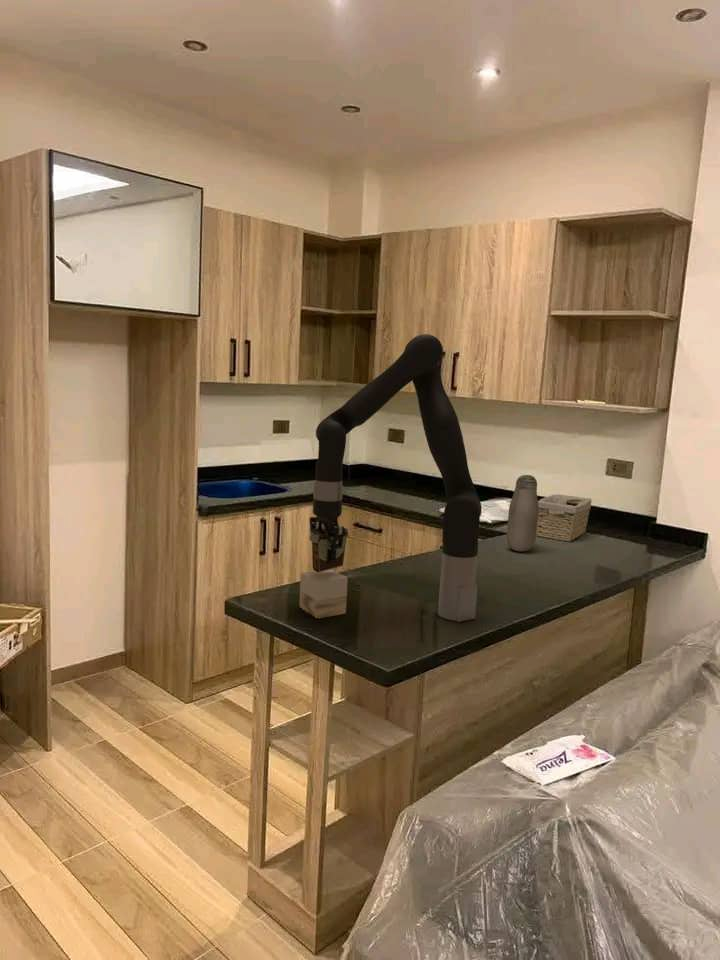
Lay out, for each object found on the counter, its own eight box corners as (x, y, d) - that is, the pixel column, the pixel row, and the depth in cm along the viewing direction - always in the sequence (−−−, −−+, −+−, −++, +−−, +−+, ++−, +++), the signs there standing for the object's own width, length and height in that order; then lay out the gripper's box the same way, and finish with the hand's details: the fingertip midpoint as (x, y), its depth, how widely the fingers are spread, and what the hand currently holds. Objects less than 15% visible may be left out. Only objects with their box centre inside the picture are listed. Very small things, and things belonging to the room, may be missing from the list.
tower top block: (346, 595, 193) (347, 577, 192) (317, 600, 188) (318, 582, 187) (328, 586, 200) (329, 568, 200) (300, 590, 195) (300, 572, 195)
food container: (329, 559, 200) (331, 524, 198) (346, 564, 196) (348, 528, 195) (297, 567, 191) (299, 530, 189) (314, 573, 187) (317, 535, 185)
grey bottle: (523, 555, 261) (530, 478, 256) (500, 549, 268) (506, 474, 264) (539, 552, 267) (547, 476, 263) (517, 545, 275) (523, 472, 270)
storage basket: (551, 526, 311) (554, 492, 309) (589, 533, 303) (593, 498, 300) (532, 536, 291) (535, 500, 289) (572, 544, 283) (576, 506, 280)
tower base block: (345, 614, 194) (346, 595, 193) (316, 619, 189) (317, 600, 188) (327, 603, 201) (328, 586, 200) (299, 608, 196) (299, 590, 195)
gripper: (355, 501, 186) (352, 565, 189) (325, 491, 198) (323, 551, 201) (330, 503, 182) (327, 569, 185) (301, 492, 194) (299, 554, 196)
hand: (325, 559), depth 193 cm, fingers closed on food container, 5 cm apart
